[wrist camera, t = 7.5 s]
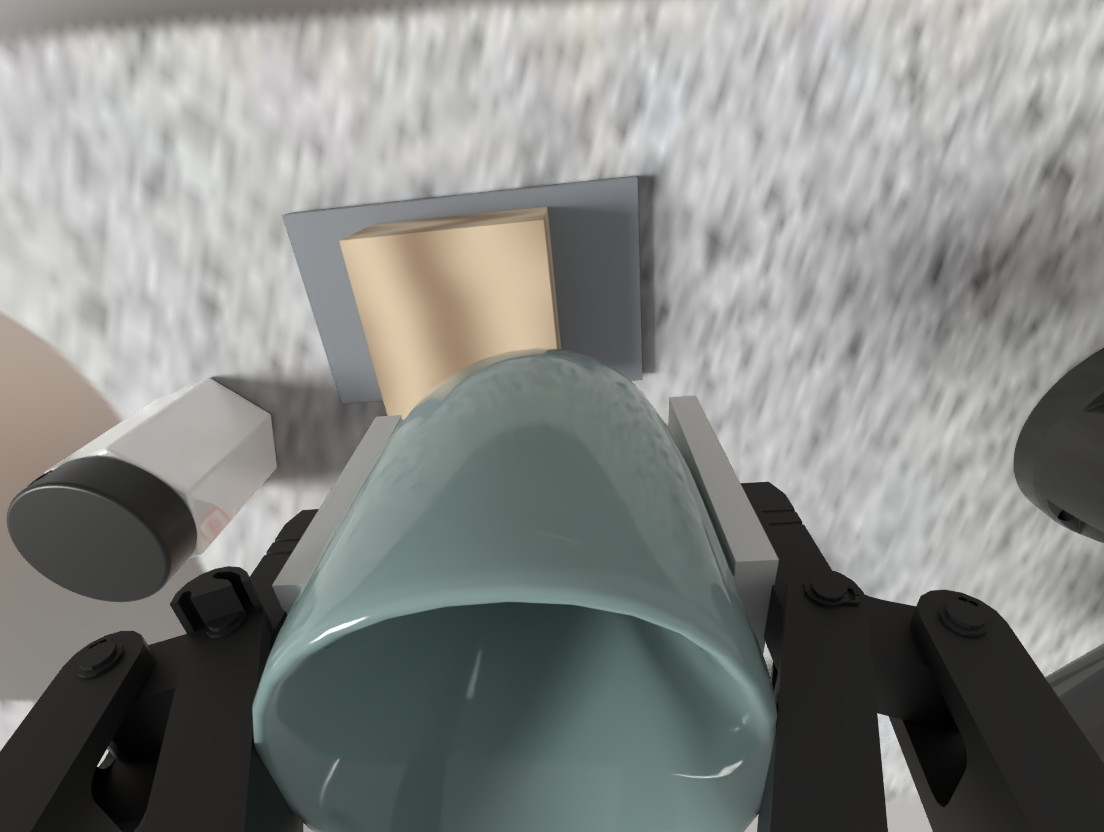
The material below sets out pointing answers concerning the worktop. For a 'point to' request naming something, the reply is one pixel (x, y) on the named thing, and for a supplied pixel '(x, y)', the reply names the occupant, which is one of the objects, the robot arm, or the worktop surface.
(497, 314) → the oak riser
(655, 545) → the cup
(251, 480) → the jar
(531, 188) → the base board
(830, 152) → the worktop surface
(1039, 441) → the robot arm
